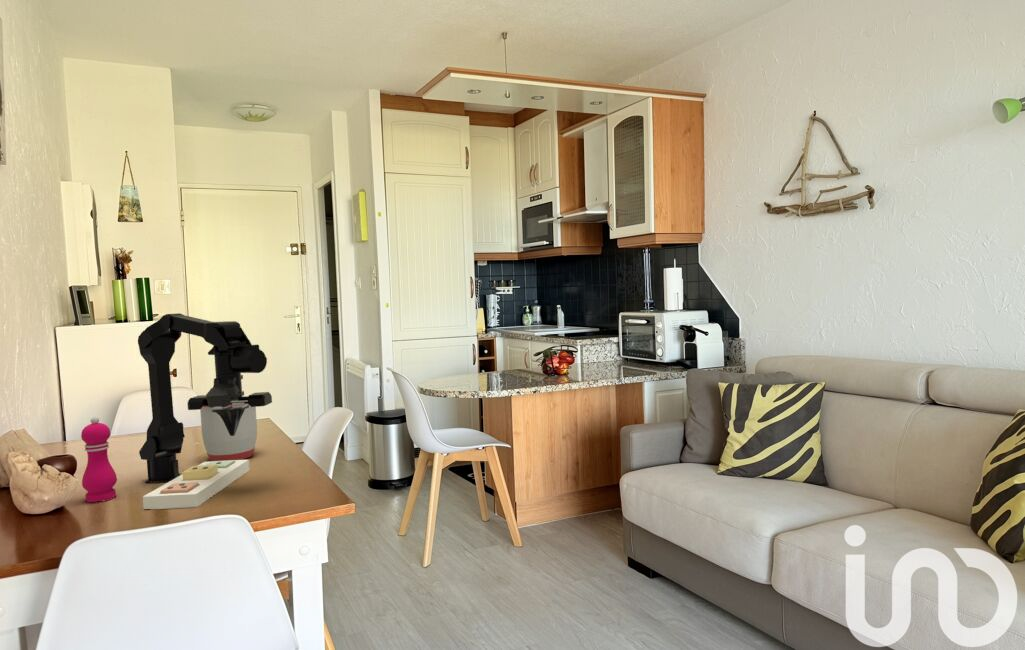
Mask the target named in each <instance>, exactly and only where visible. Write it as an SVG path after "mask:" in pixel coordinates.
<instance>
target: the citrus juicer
mask: <svg viewBox="0 0 1025 650" xmlns="http://www.w3.org/2000/svg"><path fill="white" fill-rule="evenodd" d="M248 405H249V404H248ZM229 406H232V404H231V405H229ZM212 410H213V408H210V407H209V406H203V407H202V408H201V409H200V423H201V435H202V437H201V438H202V442H203V446H204V449H205V450H206V455H207V456H208V458H209V460H210V461H227V460H246V459H247V458H248V459H249V457H250V458H251V457H252V456H253V455H254V451H255V449H256V444H257V442H256V441H257V435H258V424H257V423H258V421H257V409H256V407H251V406H250V405H249V408H246V409H245V410H244V412H243V415H242V417H241V419H240V422H239V425H238V428H237V431H236V434H235V435H234V436H230V434H229V432H228V430H227V428H226V426H225V424H224V422H223V420H222V418H221V417H220V415H218V414H217V413H216V412H212Z"/></svg>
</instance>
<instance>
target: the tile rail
mask: <svg viewBox="0 0 1025 650" xmlns="http://www.w3.org/2000/svg"><path fill="white" fill-rule="evenodd" d="M210 462H212V461H211V460H210V461H203V462H202V463H200V464H198V465H197V466H204V465H207V464H208V463H210ZM249 471H250V459H241V460H235V463H234V464H232V465H230V466H229V467H227V468H218V474H216V475H215V476H213V477H212V478H210V479H207V480H188V481H183V474H182V473H181V474H180V476H178V477H176V478H174V479H173V480H171V481H167V482H165V483H164V484H163V485H161V486H159V487H158V488H156V489H154V490H152V491H150V492H149V493H147V494H145V495H143V496H142V505H143V510H144V509H151V510H165V509H167V510H168V509H186V508H188V509H189V508H198V507H200V506H201V505H202V504H204V503H205V502H206V501H208V500H209V499H210V497H211V498H212V497H214V496H216V495H217V494H218V493H219V492H221V491H222V490H223V489H225V488H227V487H228V486H229V485H231V484H232V483H234V482H235V481H237V480H238V479H239V478H241V477H242V476H243V475H245V474H246V473H248V472H249ZM191 482H198V485H199V486H197V487H196V488H194V489H193V490H191V491H189V492H188V493H170V494H161V493H160V491H161V490H162V489H164V488H166V487H168V486H169V485H171V484H173V483H191ZM213 495H214V496H213Z"/></svg>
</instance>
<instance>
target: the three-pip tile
mask: <svg viewBox="0 0 1025 650" xmlns="http://www.w3.org/2000/svg"><path fill="white" fill-rule="evenodd" d="M197 486H199V485H198V482H191V483H173V484H171V485H169V486H168V487H166V488H164V489H162V490H161V491H160V493H161V494H170V493H188V492H189V491H191V490H193V489H194V488H196V487H197Z"/></svg>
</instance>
